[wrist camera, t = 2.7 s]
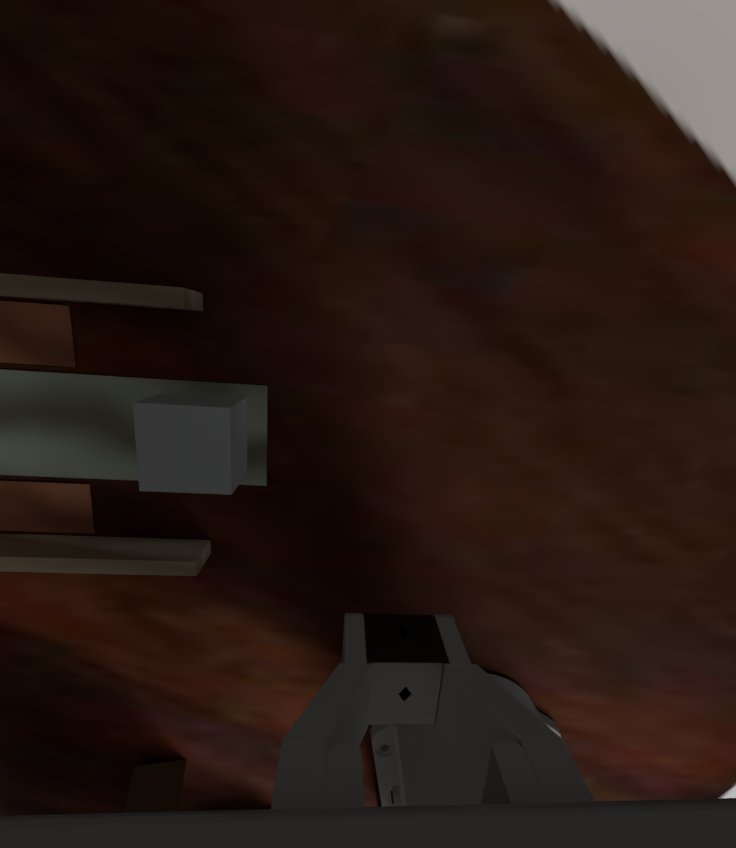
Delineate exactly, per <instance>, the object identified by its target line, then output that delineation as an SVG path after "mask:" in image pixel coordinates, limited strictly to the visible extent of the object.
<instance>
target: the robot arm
mask: <svg viewBox="0 0 736 848" xmlns="http://www.w3.org/2000/svg"><path fill="white" fill-rule="evenodd" d="M368 725H373V726H372V727H371V729H370V737H371V743H372V749H373V755H374V762H375V768H376V774H377V780H378V787H379V793H380V799H381V805H382V807H364V801H363V779H362V757H361V748H360V747H359V745H360V743H361V741H362V739H363V737H364V735H365V733H366V730H367V728H368ZM0 848H736V798H727V799H683V800H639V801H596V802H595V800H594V798H593V796H592V794H591V792H590V790H589V789H588V787H587V785H586V783H585V781H584V779H583V777H582V776H581V774H580V772H579V770H578V768H577V766H576V764H575V763H574V761H573V759H572V757H571V755H570V753H569V751H568V750H567V748H566V746H565V744H564V742H563V740H562V738H561V734H560V732H559V729H558V727H557V725H556V723H555V722H554V721H553V720H551V719H550V718H549V717H547V716H545V715H544V714H542V713H540V712H539V711H538V710H537V709H536V707H535V706H534V704H533V702H532V700H531V699H530V697H529V696H528V694H527V693H526V692H525V691H524V690H523V689H522V688H521V687H519V686H518V685H517V684H515V683H514V682H512V681H510V680H508V679H506V678H503V677H500V676H497V675H493V674H487V673H486V672H485V671H484V670H483V669H482V668H480V667H479V666H478V665H477V664H471V662H470V659H469V657H468V654H467V652H466V649H465V647H464V644H463V641H462V639H461V636H460V634H459V631H458V629H457V626H456V624H455V621H454V618H453V617H452V616H451V615H450V614H441V615H395V614H371V613H364V614H363V613H345V617H344V631H343V646H342V663H340V664H338V665H337V667H336V668H335V670H334V671H333V672H332V674H331V675H330V676H329V678H328V679H327V680H326V682H325V683H324V684H323V686H322V687H321V688H320V690H319V691H318V693H317V694H316V695H315V697H314V698H313V699H312V701H311V702H310V703H309V705H308V706H307V707H306V709H305V710H304V711H303V713H302V714H301V716H300V717H299V718H298V720H297V721H296V722H295V724H294V725H293V726H292V728H291V729H290V730H289V732H288V733H287V734H286V736H285V737H284V739H283V740H282V745H281V751H280V757H279V763H278V769H277V775H276V781H275V787H274V793H273V799H272V805H271V809H255V810H212V811H169V812H127V813H84V814H42V815H0Z"/></svg>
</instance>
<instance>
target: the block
mask: <svg viewBox="0 0 736 848" xmlns="http://www.w3.org/2000/svg"><path fill="white" fill-rule="evenodd" d="M132 403H133V415H134V428H135V441H136V453H137V466H138V478H139V491H151V492H177V493H202V494H227V495H232V493H233V492H234V491H235V489H236V488H237V487H238V485H239V484H240V482H241V481H242V480H243V478H244V477H245V476H246V474H247V398H240V397H223V396H206V395H189V394H172V393H162V394H159V395H155V396H152V397H149V398H145V399H142V400H139V401H136V402H132Z"/></svg>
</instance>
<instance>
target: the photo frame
mask: <svg viewBox="0 0 736 848" xmlns="http://www.w3.org/2000/svg"><path fill="white" fill-rule="evenodd" d="M185 765H186V760H179V761H171V762H163V763H155V764H147V765H140V766H135V767H134V771H133V775H132V778H131V782H130V786H129V790H128V794H127V798H126V801H125V805H124V809H123V813H127V812H169V811H179V805H180V798H181V791H182V785H183V778H184V771H185Z"/></svg>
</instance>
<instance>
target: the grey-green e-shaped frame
mask: <svg viewBox="0 0 736 848" xmlns="http://www.w3.org/2000/svg"><path fill="white" fill-rule="evenodd" d="M0 296H6V297H19V298H32V299H46V300H59V301H72V302H85V303H99V304H112V305H125V306H139V307H152V308H165V309H179V310H192V311H203V293H200V292H196V291H193V290H190V289H187V288H181V287H169V286H156V285H143V284H131V283H118V282H106V281H93V280H80V279H68V278H55V277H42V276H30V275H17V274H5V273H0ZM0 362H2V363H18V364H34V365H50V366H66V367H76V358H75V349H74V340H73V331H72V322H71V314H70V306H66V305H52V304H39V303H25V302H12V301H0ZM162 393H172V394H189V395H206V396H223V397H240V398H247V474H246V476H245V477H244V478H243V480H242V481H241V482H240V484H239V485H256V486H267V386H265V385H249V384H232V383H216V382H200V381H184V380H167V379H151V378H135V377H118V376H102V375H86V374H70V373H53V372H37V371H21V370H5V369H0V475H17V476H41V477H65V478H89V479H113V480H137V481H139V478H138V466H137V453H136V441H135V428H134V415H133V403H132V402H136V401H139V400H142V399H145V398H149V397H152V396H155V395H159V394H162ZM0 531H27V532H59V533H90V534H95V527H94V518H93V509H92V500H91V491H90V484H77V483H52V482H28V481H3V480H0ZM210 554H211V540H198V539H165V538H133V537H101V536H68V535H36V534H4V533H0V571H4V572H46V573H88V574H130V575H171V576H197V575H198V573H199V571H200V570H201V568H202V567H203V565H204V564H205V562H206V560H207V559H208V557H209V556H210Z"/></svg>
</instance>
